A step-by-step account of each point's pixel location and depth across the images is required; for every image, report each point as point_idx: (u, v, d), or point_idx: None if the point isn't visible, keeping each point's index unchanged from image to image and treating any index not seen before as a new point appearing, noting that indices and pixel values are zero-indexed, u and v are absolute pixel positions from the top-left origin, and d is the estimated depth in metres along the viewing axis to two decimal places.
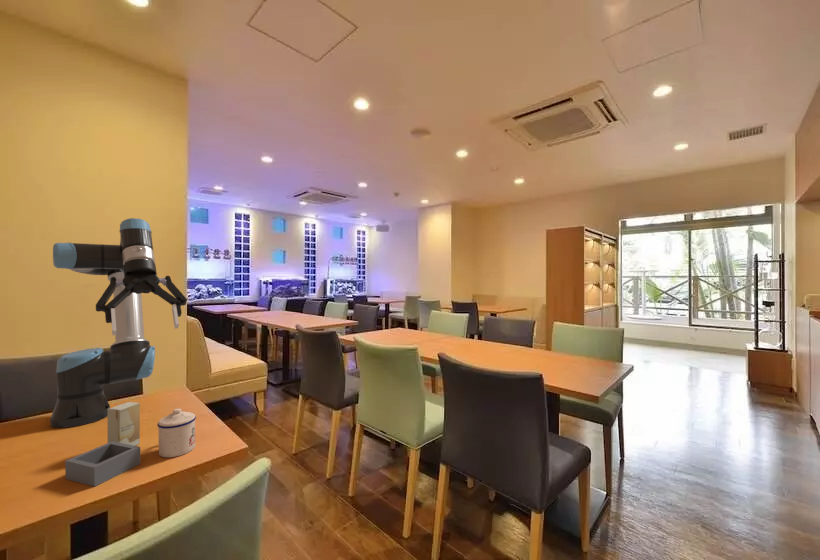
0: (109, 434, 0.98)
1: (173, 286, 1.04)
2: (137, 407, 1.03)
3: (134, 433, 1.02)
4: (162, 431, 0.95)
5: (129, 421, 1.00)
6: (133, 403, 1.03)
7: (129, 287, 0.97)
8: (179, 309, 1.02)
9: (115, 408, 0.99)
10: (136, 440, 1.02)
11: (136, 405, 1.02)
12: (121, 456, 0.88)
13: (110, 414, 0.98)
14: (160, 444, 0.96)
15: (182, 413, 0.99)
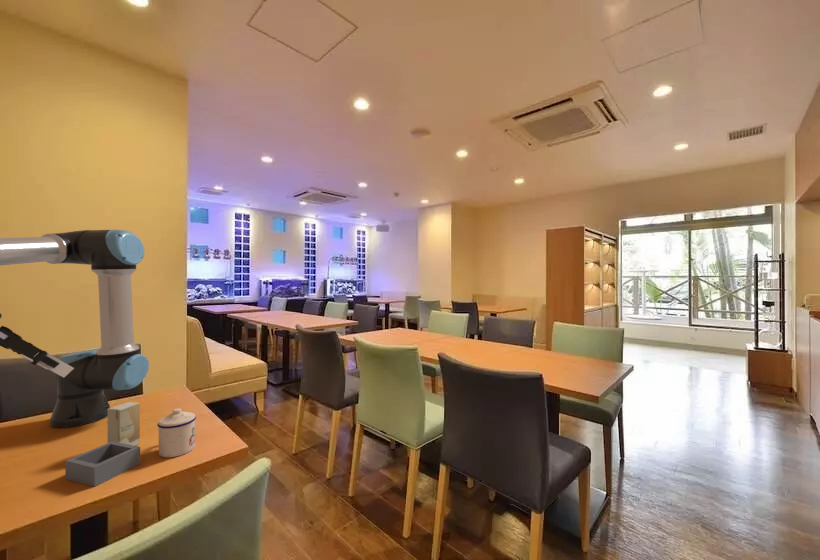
0: (109, 434, 0.98)
1: (10, 347, 0.79)
2: (137, 407, 1.03)
3: (134, 433, 1.02)
4: (162, 431, 0.95)
5: (130, 421, 1.00)
6: (133, 403, 1.03)
7: None
8: (47, 364, 0.83)
9: (115, 408, 0.99)
10: (136, 440, 1.02)
11: (136, 405, 1.02)
12: (121, 456, 0.88)
13: (110, 414, 0.98)
14: (160, 444, 0.96)
15: (182, 413, 0.99)
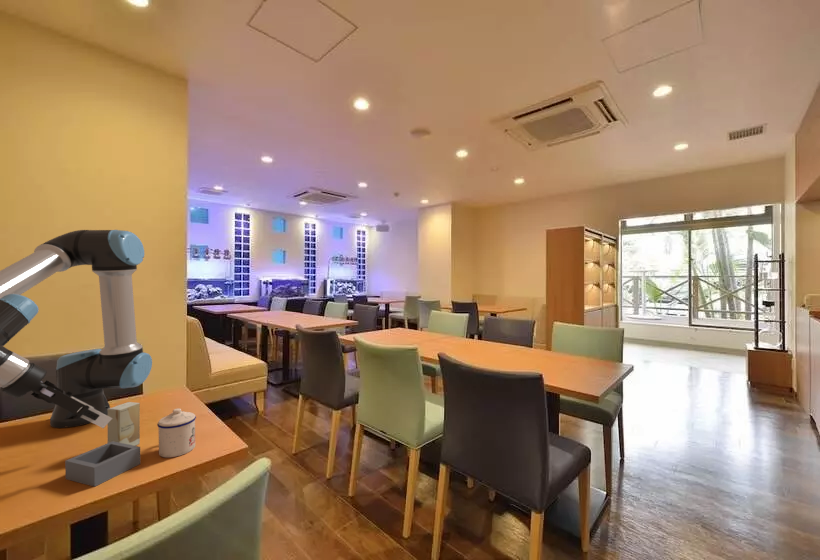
0: (109, 434, 0.98)
1: None
2: (137, 407, 1.03)
3: (134, 433, 1.02)
4: (162, 431, 0.95)
5: (130, 421, 1.00)
6: (133, 403, 1.03)
7: None
8: (88, 417, 0.88)
9: (115, 408, 0.99)
10: (136, 440, 1.02)
11: (136, 405, 1.02)
12: (121, 456, 0.88)
13: (110, 414, 0.98)
14: (160, 444, 0.96)
15: (182, 413, 0.99)
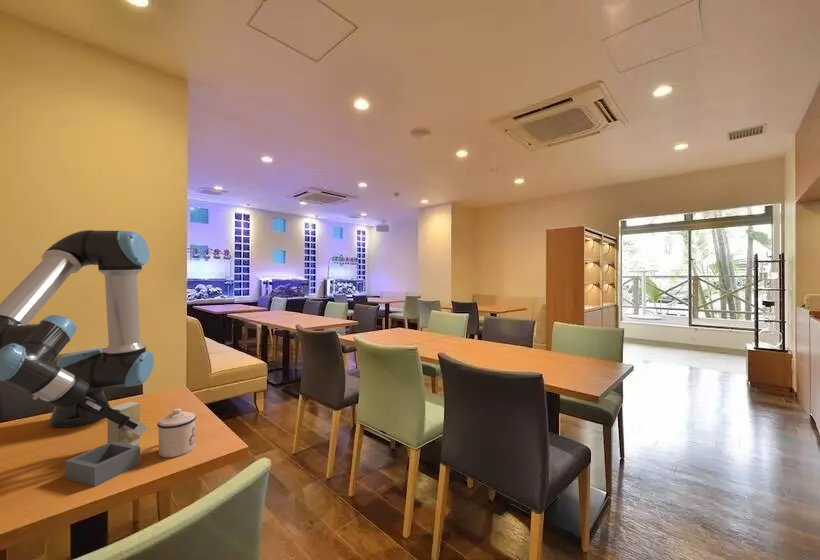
0: (109, 434, 0.98)
1: (102, 416, 0.92)
2: (137, 407, 1.03)
3: (134, 433, 1.02)
4: (162, 431, 0.95)
5: None
6: (133, 403, 1.03)
7: None
8: (129, 426, 0.98)
9: (115, 408, 0.99)
10: (136, 440, 1.02)
11: (136, 405, 1.02)
12: (121, 456, 0.88)
13: None
14: (160, 444, 0.96)
15: (182, 413, 0.99)
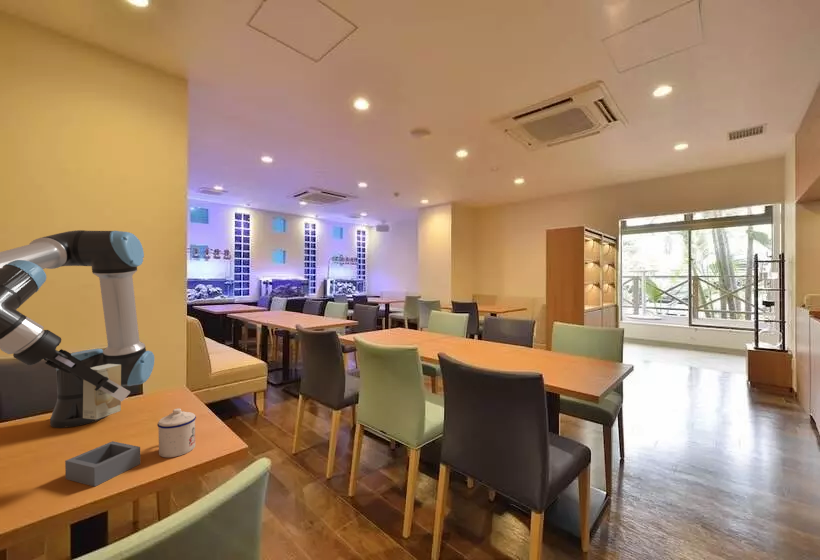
0: (85, 398, 0.86)
1: (75, 374, 0.80)
2: (117, 369, 0.90)
3: (114, 398, 0.90)
4: (162, 431, 0.95)
5: None
6: (114, 364, 0.91)
7: (59, 369, 0.84)
8: (107, 389, 0.86)
9: (92, 368, 0.87)
10: (117, 406, 0.90)
11: (117, 366, 0.90)
12: (121, 456, 0.88)
13: None
14: (160, 444, 0.96)
15: (182, 413, 0.99)
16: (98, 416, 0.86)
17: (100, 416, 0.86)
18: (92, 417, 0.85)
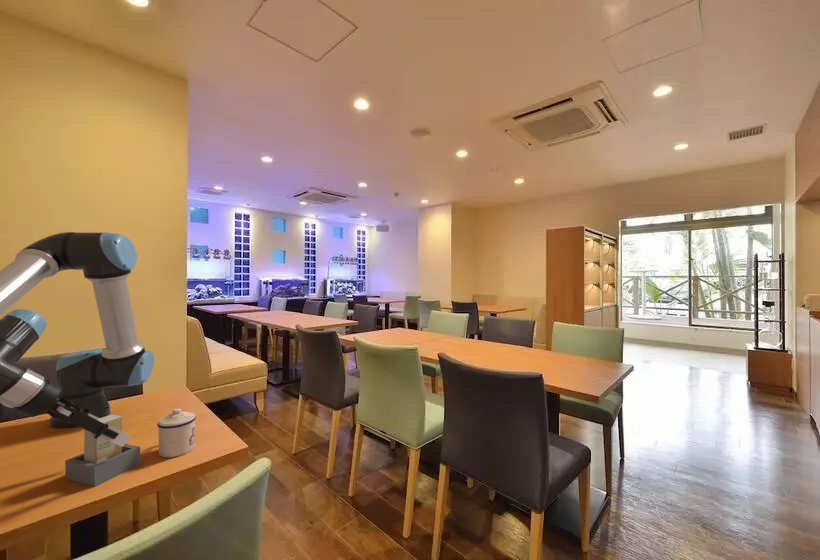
0: (86, 452, 0.86)
1: (74, 423, 0.79)
2: (118, 421, 0.90)
3: (115, 451, 0.89)
4: (162, 431, 0.95)
5: None
6: (115, 416, 0.91)
7: None
8: None
9: None
10: None
11: (117, 418, 0.90)
12: (121, 456, 0.88)
13: None
14: (160, 444, 0.96)
15: (182, 413, 0.99)
16: None
17: None
18: None
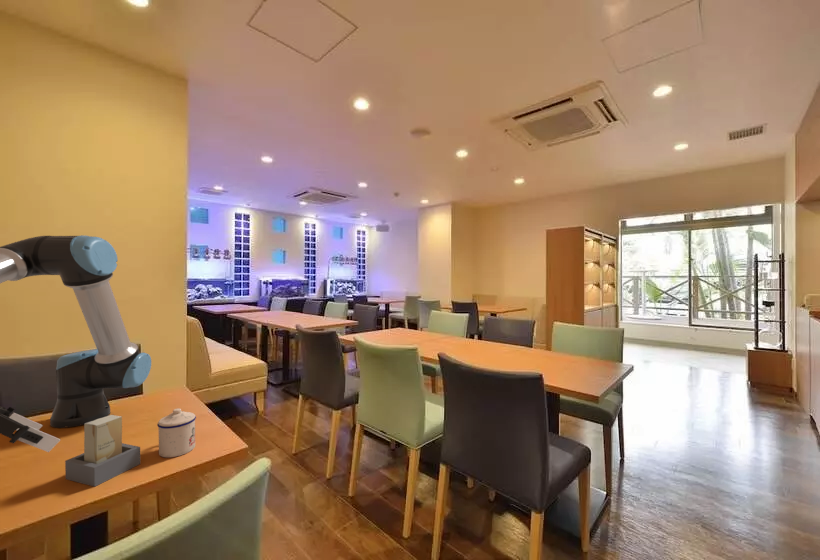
0: (86, 452, 0.86)
1: None
2: (118, 421, 0.90)
3: (115, 451, 0.89)
4: (162, 431, 0.95)
5: (109, 437, 0.88)
6: (115, 417, 0.91)
7: None
8: None
9: (92, 423, 0.87)
10: None
11: (117, 419, 0.90)
12: (121, 456, 0.88)
13: (87, 430, 0.86)
14: (160, 444, 0.96)
15: (182, 413, 0.99)
16: None
17: None
18: None
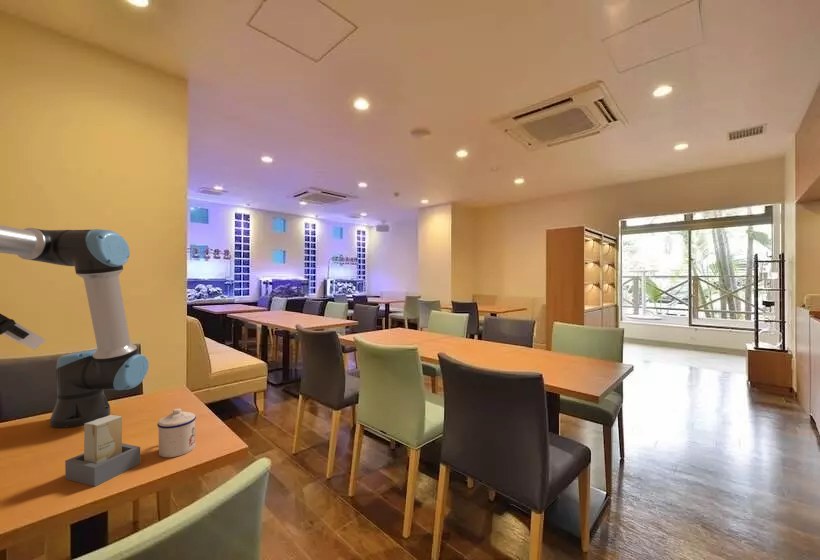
0: (86, 452, 0.86)
1: None
2: (118, 421, 0.90)
3: (115, 451, 0.89)
4: (162, 431, 0.95)
5: (109, 437, 0.88)
6: (115, 417, 0.91)
7: None
8: (15, 334, 0.77)
9: (92, 423, 0.87)
10: None
11: (117, 419, 0.90)
12: (121, 456, 0.88)
13: (87, 430, 0.86)
14: (160, 444, 0.96)
15: (182, 413, 0.99)
16: None
17: None
18: None
